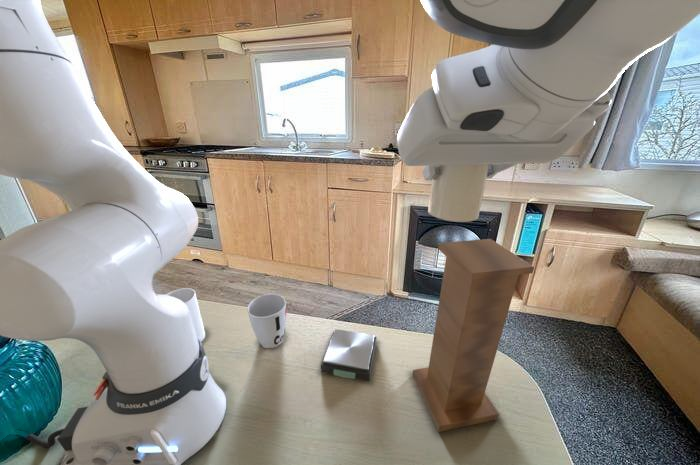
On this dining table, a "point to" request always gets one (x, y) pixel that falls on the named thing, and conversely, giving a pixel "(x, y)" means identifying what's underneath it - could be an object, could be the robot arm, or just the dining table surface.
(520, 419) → the dining table surface
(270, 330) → the cup
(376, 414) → the dining table surface
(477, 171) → the cream mug
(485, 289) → the stand
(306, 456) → the dining table surface
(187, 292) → the mug
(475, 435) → the dining table surface
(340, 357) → the scale
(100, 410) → the robot arm
